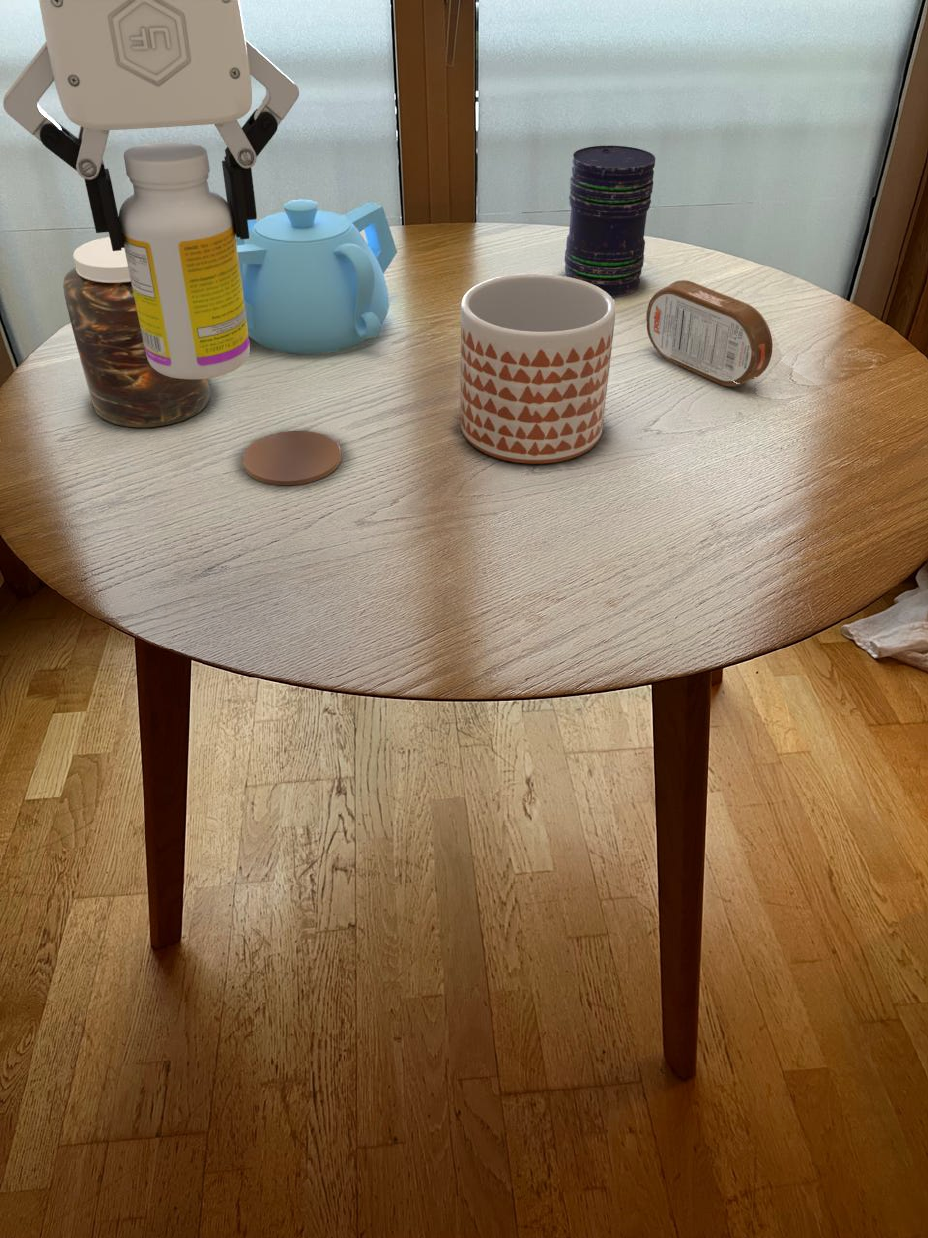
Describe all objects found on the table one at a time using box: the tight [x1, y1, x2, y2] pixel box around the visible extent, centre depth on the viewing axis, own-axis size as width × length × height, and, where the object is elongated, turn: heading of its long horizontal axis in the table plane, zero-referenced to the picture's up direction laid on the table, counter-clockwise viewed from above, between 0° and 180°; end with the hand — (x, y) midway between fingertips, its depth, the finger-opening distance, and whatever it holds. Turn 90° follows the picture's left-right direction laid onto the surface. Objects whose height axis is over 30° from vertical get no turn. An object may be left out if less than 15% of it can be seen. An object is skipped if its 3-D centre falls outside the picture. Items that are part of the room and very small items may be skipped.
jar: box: [62, 236, 211, 428], centre depth 92 cm, size 12×12×15 cm
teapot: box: [235, 198, 398, 355], centre depth 106 cm, size 19×19×14 cm
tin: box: [645, 279, 774, 387], centre depth 100 cm, size 15×3×8 cm, turn 40°
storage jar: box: [563, 145, 656, 298], centre depth 117 cm, size 10×10×15 cm
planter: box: [460, 273, 617, 465], centre depth 89 cm, size 14×14×13 cm
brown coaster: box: [241, 430, 342, 486], centre depth 88 cm, size 9×9×1 cm
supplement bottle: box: [118, 141, 251, 380], centre depth 59 cm, size 7×7×13 cm
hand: (179, 235), depth 58 cm, fingers closed on supplement bottle, 6 cm apart
